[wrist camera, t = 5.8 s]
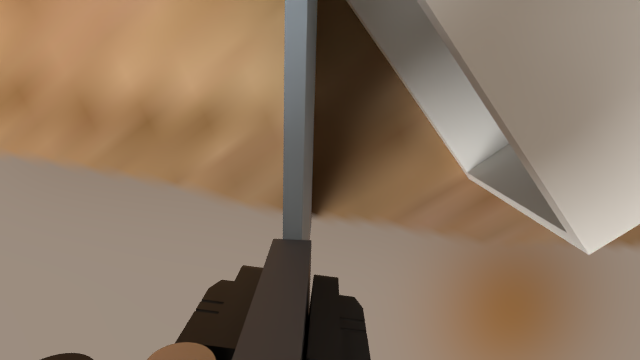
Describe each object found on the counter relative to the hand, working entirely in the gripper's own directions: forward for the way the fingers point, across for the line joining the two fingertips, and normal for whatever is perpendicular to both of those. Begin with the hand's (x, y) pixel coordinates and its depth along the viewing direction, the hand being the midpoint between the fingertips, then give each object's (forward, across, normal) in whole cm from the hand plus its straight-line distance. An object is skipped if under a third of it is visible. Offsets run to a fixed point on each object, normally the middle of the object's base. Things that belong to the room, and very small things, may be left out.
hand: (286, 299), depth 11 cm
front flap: (+11, +1, -5) cm, 12 cm away
